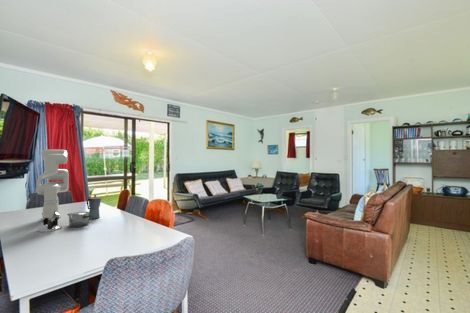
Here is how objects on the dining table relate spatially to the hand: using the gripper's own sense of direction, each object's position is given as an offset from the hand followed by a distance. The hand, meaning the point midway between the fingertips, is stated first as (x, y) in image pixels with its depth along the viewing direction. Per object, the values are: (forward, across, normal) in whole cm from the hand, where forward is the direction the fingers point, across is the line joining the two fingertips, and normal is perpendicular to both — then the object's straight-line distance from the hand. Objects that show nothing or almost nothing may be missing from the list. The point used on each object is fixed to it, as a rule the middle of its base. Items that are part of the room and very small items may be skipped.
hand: (50, 225), depth 169 cm
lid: (+3, 0, 0) cm, 3 cm away
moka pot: (+3, +3, +33) cm, 33 cm away
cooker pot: (+3, +10, +14) cm, 18 cm away
